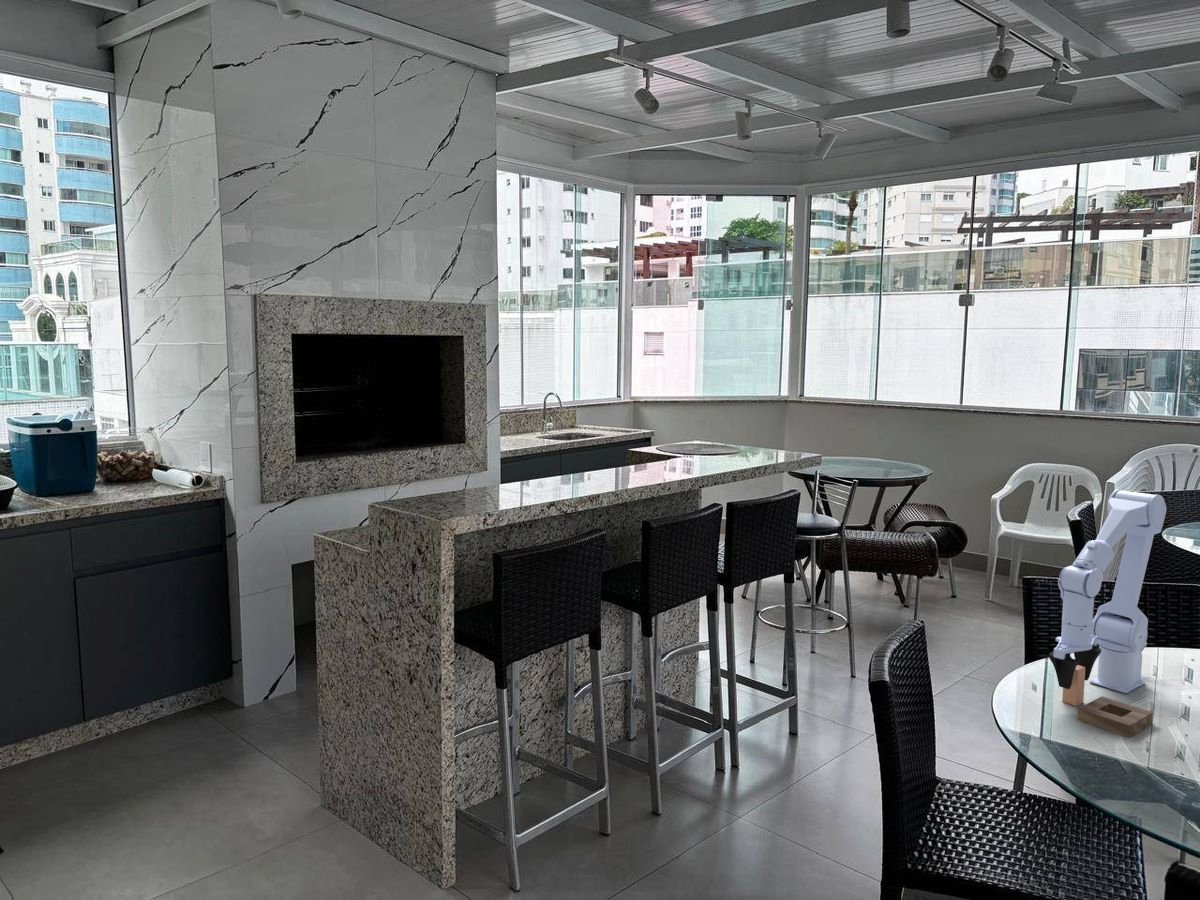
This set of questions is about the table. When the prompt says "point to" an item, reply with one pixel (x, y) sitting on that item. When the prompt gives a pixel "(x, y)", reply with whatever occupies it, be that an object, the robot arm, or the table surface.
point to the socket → (1115, 716)
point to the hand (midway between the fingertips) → (1073, 683)
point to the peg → (1075, 688)
